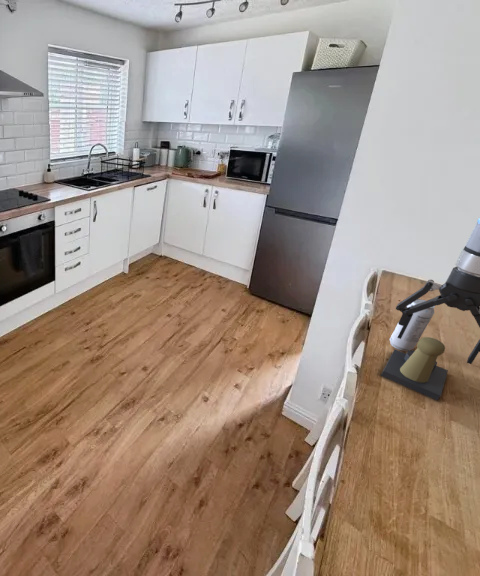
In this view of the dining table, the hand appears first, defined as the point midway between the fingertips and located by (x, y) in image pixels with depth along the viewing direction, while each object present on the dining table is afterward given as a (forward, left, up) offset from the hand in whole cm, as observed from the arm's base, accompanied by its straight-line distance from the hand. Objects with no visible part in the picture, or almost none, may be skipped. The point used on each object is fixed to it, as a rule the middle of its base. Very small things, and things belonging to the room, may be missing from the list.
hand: (433, 348), depth 92 cm
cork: (+1, 0, -9) cm, 9 cm away
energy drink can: (+6, -16, -11) cm, 20 cm away
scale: (0, -2, -11) cm, 11 cm away
